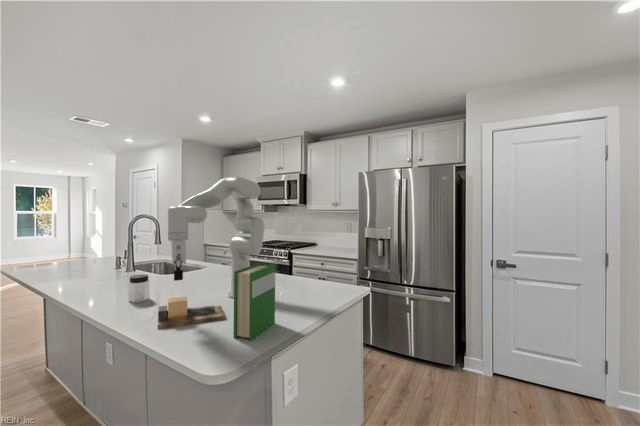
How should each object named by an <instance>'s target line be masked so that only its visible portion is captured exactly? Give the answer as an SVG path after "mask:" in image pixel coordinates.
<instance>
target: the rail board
mask: <svg viewBox="0 0 640 426" xmlns="http://www.w3.org/2000/svg"><path fill="white" fill-rule="evenodd" d="M215 320H216V321H222V320H226V314H225V312H224V310H223V307H222V305H217V306H215V305H213V304H211V305H205V306H197V307H189V308H188V307H187V318H180V319H172V320H168V305H162V306H161V305H160V306H159V307H158V311H157V329H166V328H174V327H180V326H186V325H194V324H202V323H208V321H209V322H215Z"/></svg>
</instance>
